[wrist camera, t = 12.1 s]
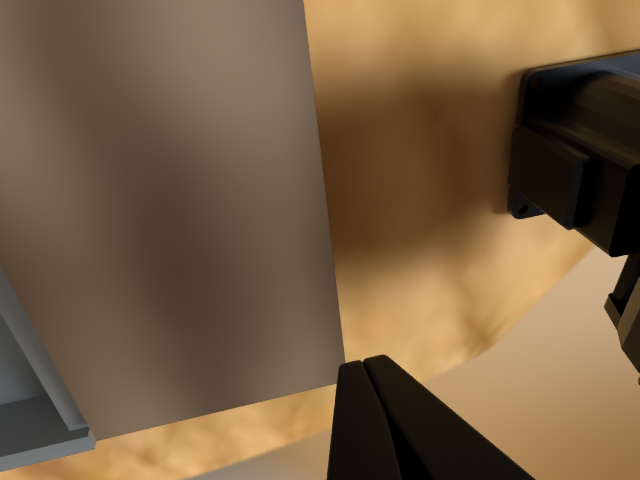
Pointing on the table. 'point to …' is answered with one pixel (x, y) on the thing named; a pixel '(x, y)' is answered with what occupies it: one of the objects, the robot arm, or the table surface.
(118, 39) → the taupe pedestal platform
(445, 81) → the table surface
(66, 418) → the box
